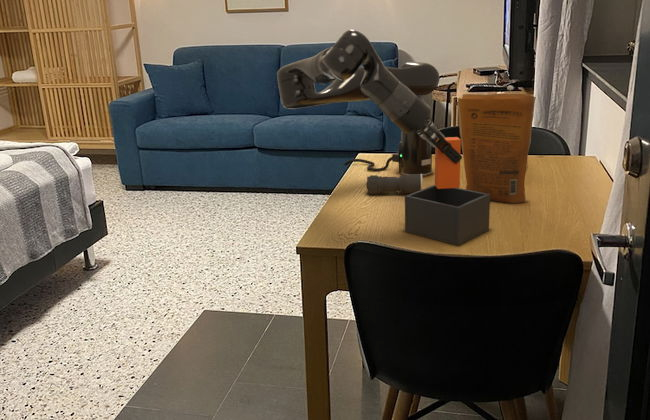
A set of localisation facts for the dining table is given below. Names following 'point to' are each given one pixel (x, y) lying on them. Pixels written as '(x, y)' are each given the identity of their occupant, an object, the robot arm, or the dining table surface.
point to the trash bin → (447, 214)
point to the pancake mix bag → (496, 143)
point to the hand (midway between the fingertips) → (456, 158)
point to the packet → (447, 166)
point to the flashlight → (394, 184)
